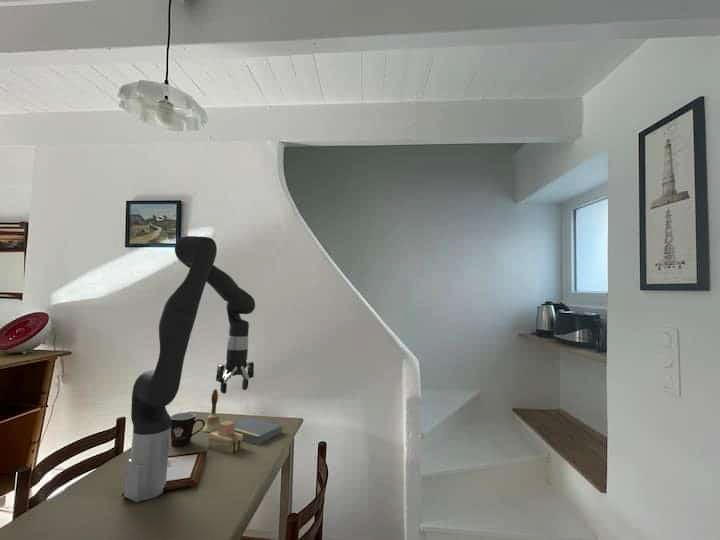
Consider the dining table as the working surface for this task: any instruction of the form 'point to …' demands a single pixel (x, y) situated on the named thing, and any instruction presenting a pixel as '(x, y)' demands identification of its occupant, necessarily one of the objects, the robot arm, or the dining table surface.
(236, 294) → the robot arm
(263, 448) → the dining table surface
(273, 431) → the dock
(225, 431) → the block
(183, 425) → the coffee mug
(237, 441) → the tan boxy piece
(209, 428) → the hand bell
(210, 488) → the dining table surface
